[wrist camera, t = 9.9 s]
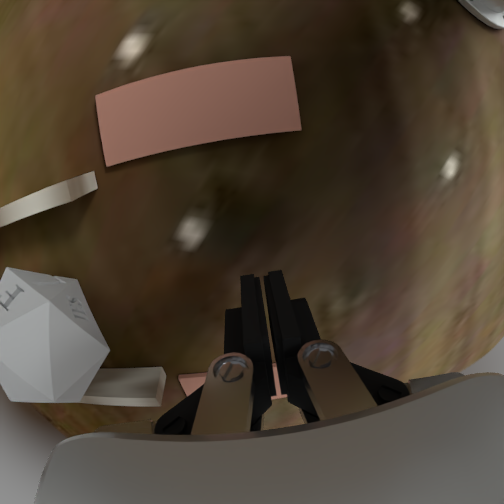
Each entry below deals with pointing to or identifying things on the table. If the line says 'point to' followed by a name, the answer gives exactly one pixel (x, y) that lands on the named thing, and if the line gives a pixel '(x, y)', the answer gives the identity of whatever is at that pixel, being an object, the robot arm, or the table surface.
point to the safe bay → (106, 380)
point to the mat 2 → (198, 379)
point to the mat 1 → (198, 107)
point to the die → (46, 338)
